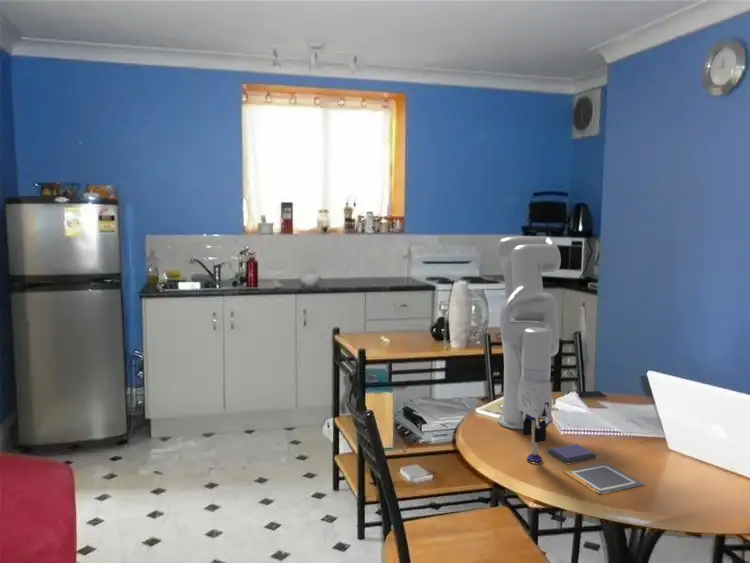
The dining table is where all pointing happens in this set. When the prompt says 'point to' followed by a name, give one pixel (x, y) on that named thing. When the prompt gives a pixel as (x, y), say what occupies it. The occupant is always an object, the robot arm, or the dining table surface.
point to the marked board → (605, 478)
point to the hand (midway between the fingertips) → (534, 437)
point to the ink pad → (572, 454)
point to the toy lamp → (534, 443)
